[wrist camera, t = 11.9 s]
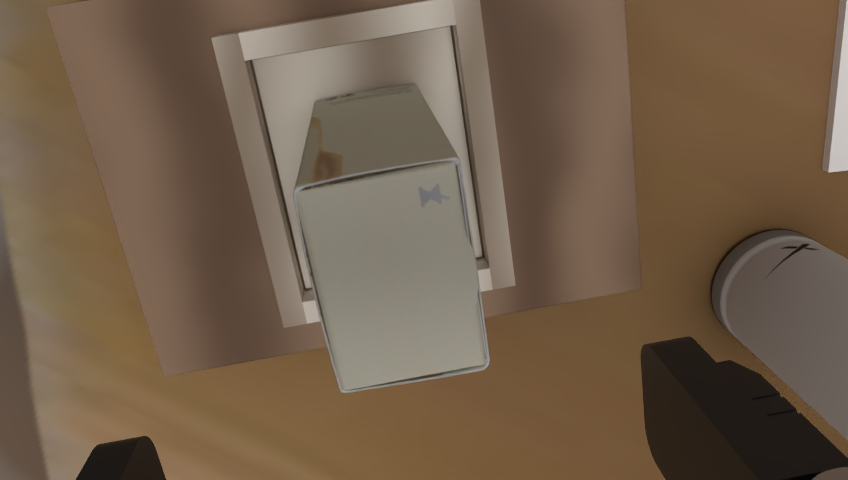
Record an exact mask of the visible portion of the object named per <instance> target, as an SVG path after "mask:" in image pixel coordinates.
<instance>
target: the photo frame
mask: <svg viewBox="0 0 848 480" xmlns="http://www.w3.org/2000/svg"><path fill="white" fill-rule="evenodd" d="M822 170H823V171H826V172H828V173H829V172H838V171H847V170H848V0H840V1H839V10H838V20H837V30H836V39H835V49H834V58H833V68H832V78H831V87H830V97H829V107H828V116H827V126H826V135H825V145H824V155H823V164H822Z"/></svg>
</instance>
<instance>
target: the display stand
mask: <svg viewBox="0 0 848 480" xmlns="http://www.w3.org/2000/svg"><path fill="white" fill-rule="evenodd" d="M46 11H47V14H48V17H49V20H50V23H51V26H52V29H53V33H54V36H55V39H56V42H57V45H58V48H59V51H60V54H61V57H62V61H63V64H64V67H65V70H66V73H67V76H68V79H69V82H70V85H71V88H72V92H73V95H74V98H75V101H76V104H77V107H78V110H79V113H80V116H81V120H82V123H83V126H84V129H85V132H86V135H87V138H88V141H89V144H90V147H91V151H92V154H93V157H94V160H95V163H96V166H97V169H98V172H99V175H100V179H101V182H102V185H103V188H104V191H105V194H106V197H107V200H108V203H109V206H110V210H111V213H112V216H113V219H114V222H115V225H116V228H117V231H118V234H119V238H120V241H121V244H122V247H123V250H124V253H125V256H126V259H127V262H128V265H129V269H130V272H131V275H132V278H133V281H134V284H135V287H136V290H137V293H138V297H139V300H140V303H141V306H142V309H143V312H144V315H145V318H146V321H147V324H148V328H149V331H150V334H151V337H152V340H153V343H154V346H155V349H156V352H157V356H158V359H159V362H160V365H161V368H162V371H163V374H164V377H167V376H173V375H178V374H184V373H189V372H194V371H200V370H205V369H211V368H216V367H221V366H227V365H232V364H238V363H243V362H249V361H254V360H259V359H265V358H270V357H276V356H281V355H286V354H292V353H297V352H303V351H308V350H313V349H319V348H324V347H327V344H326V340H325V337H324V333H323V329H322V326H321V322H320V318H319V314H318V310H317V306H316V302H315V298H314V294H313V291H312V286H311V282H310V278H309V274H308V269H307V265H306V261H305V257H304V252H303V247H302V242H301V237H300V232H299V226H298V221H297V216H296V209H295V203H294V198H293V192H294V187H295V184H296V180H297V176H298V172H299V167H300V163H301V159H302V155H303V150H304V146H305V141H306V137H307V132H308V128H309V124H310V120H311V115H312V110H313V106H314V103H315V101H317V100H320V99H324V98H329V97H333V96H338V95H343V94H348V93H354V92H359V91H365V90H372V89H378V88H385V87H392V86H399V85H406V84H416V85H417V86H418V88H419V90H420V92H421V93H422V95H423V97H424V99H425V101H426V102H427V104H428V105H429V107H430V109H431V111H432V112H433V114H434V116H435V118H436V119H437V121H438V123H439V124H440V126H441V128H442V129H443V131H444V133H445V135H446V136H447V138H448V139H449V141H450V143H451V145H452V147H453V148H454V150H455V152H456V154H457V156H458V157H459V158H460V162H461V166H462V174H463V182H464V187H465V192H466V199H467V206H468V213H469V219H470V226H471V232H472V238H473V245H474V251H475V258H476V264H477V270H478V277H479V284H480V291H481V298H482V305H483V312H484V318H486V317H492V316H497V315H503V314H508V313H513V312H519V311H524V310H530V309H535V308H540V307H546V306H551V305H557V304H562V303H567V302H573V301H578V300H584V299H589V298H594V297H600V296H605V295H611V294H616V293H622V292H627V291H632V290H638V289H642V282H641V266H640V249H639V233H638V216H637V199H636V183H635V166H634V150H633V133H632V117H631V100H630V84H629V67H628V50H627V34H626V17H625V1H624V0H88V1H82V2H76V3H70V4H64V5H58V6H52V7H46Z"/></svg>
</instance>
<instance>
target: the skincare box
mask: <svg viewBox="0 0 848 480" xmlns="http://www.w3.org/2000/svg"><path fill="white" fill-rule="evenodd" d="M293 198H294V203H295V209H296V216H297V221H298V226H299V232H300V237H301V242H302V247H303V252H304V257H305V261H306V265H307V269H308V274H309V278H310V282H311V286H312V291H313V294H314V298H315V302H316V306H317V310H318V314H319V318H320V322H321V326H322V329H323V333H324V337H325V340H326V344H327V348H328V351H329V354H330V358H331V362H332V365H333V369H334V372H335V375H336V379H337V382H338V386H339V389H340V391H341V392H342V393H350V392H356V391H361V390H367V389H375V388H383V387H388V386H395V385H401V384H408V383H414V382H419V381H425V380H431V379H438V378H444V377H450V376H455V375H460V374H466V373H472V372H477V371H482V370H484V369H486V368H487V367H488V365H489V363H490V356H489V349H488V342H487V334H486V327H485V320H484V312H483V305H482V298H481V291H480V284H479V277H478V270H477V264H476V258H475V251H474V245H473V238H472V232H471V226H470V219H469V213H468V206H467V199H466V192H465V187H464V182H463V174H462V166H461V162H460V158H459V157H458V156H457V154H456V152H455V150H454V148H453V147H452V145H451V143H450V141H449V139H448V138H447V136H446V135H445V133H444V131H443V129H442V128H441V126H440V124H439V123H438V121H437V119H436V118H435V116H434V114H433V112H432V111H431V109H430V107H429V105H428V104H427V102H426V101H425V99H424V97H423V95H422V93H421V92H420V90H419V88H418V86H417V85H416V84H406V85H399V86H392V87H385V88H378V89H372V90H365V91H359V92H354V93H348V94H343V95H338V96H333V97H329V98H324V99H320V100H317V101H315V103H314V106H313V110H312V115H311V120H310V124H309V128H308V132H307V137H306V141H305V146H304V150H303V155H302V159H301V163H300V167H299V172H298V176H297V180H296V184H295V187H294V192H293Z"/></svg>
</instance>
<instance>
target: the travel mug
mask: <svg viewBox="0 0 848 480" xmlns="http://www.w3.org/2000/svg"><path fill="white" fill-rule="evenodd" d="M712 305H713V308H714V311H715V314H716V316H717V318H718V319H719V321H720V323H721V324H722V325H723V326H724V327H725V328H726V329H727V330H728V331H729V332H730V333H732V334H733V335H734V336H735V337H736V338H737V339H738V340H739V341H740V342H741V343H742V344H743V345H745V346H746V347H747V348H748V349H749V350H750V351H751V352H752V353H753V354H754V355H755V356H756V357H758V358H759V359H760V360H761V361H762V362H763V363H764V364H765V365H766V366H767V367H768V368H769V369H771V370H772V371H773V372H774V373H775V374H776V375H777V376H778V377H779V378H780V379H781V380H782V381H784V382H785V383H786V384H787V385H788V386H789V387H790V388H791V389H792V390H793V391H794V392H795V393H797V394H798V395H799V396H800V397H801V398H802V399H803V400H804V401H805V402H806V403H807V404H808V405H810V406H811V407H812V408H813V409H814V410H815V411H816V412H817V413H818V414H819V415H820V416H822V417H823V418H824V419H825V420H826V421H827V422H828V423H829V424H830V425H831V426H832V427H833V428H835V429H836V430H837V431H838V432H839V433H840V434H841V435H842V436H843V437H844V438H845V439H846V440H848V259H846V258H845V257H843V256H841V255H839V254H837V253H836V252H834V251H832V250H830V249H828V248H826V247H825V246H822V245H820V244H819V243H817V242H816V241H814V240H812V239H810V238H808V237H807V236H805V235H803V234H800V233H797V232H795V231H789V230H771V231H767V232H763V233H759V234H757V235H755V236H753V237H750V238H748V239H747V240H745V241H744V242H742V243H741V244H739V245H738V246H737V247H735V248H734V249H733V250H732V251H731V252H730V253H729V254H728V255H727V257H726V258H725V259H724V261H723V262H722V263H721V265H720V267H719V269H718V271H717V273H716V276H715V279H714V282H713V287H712Z"/></svg>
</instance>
